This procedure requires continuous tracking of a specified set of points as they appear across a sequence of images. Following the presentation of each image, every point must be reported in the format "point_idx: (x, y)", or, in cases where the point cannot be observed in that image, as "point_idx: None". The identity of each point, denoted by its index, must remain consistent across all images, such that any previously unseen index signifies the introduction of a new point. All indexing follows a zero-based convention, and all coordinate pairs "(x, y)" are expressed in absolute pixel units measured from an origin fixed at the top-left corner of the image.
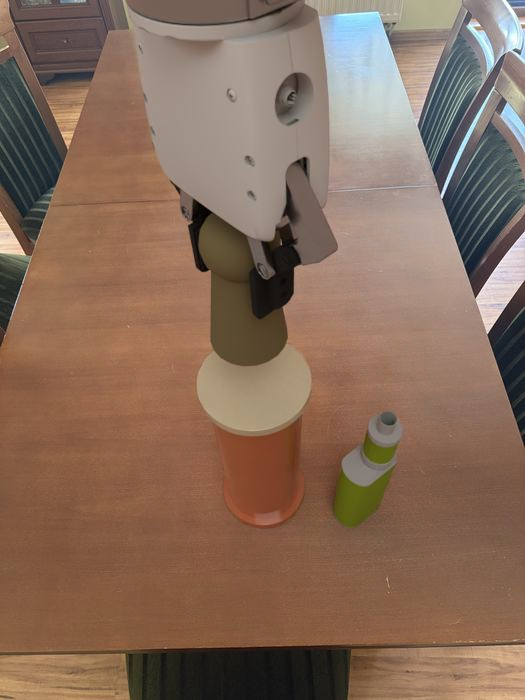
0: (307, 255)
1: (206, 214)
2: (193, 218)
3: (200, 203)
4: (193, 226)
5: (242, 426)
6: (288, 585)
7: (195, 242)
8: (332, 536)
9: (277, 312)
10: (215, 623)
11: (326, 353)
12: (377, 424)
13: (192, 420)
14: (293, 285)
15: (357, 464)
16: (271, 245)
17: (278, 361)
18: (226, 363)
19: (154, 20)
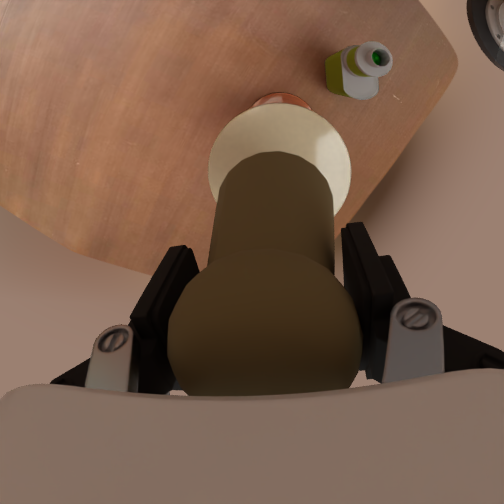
0: None
1: (167, 378)
2: (168, 392)
3: (146, 392)
4: (180, 387)
5: None
6: (356, 155)
7: None
8: (347, 106)
9: (328, 216)
10: (344, 209)
11: (188, 7)
12: (369, 64)
13: (189, 149)
14: (367, 233)
15: (355, 82)
16: (359, 345)
17: (272, 134)
18: None
19: None
